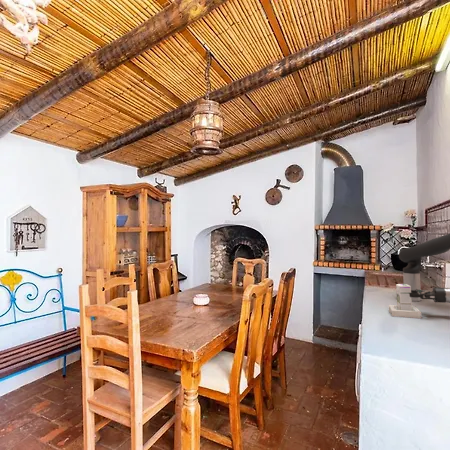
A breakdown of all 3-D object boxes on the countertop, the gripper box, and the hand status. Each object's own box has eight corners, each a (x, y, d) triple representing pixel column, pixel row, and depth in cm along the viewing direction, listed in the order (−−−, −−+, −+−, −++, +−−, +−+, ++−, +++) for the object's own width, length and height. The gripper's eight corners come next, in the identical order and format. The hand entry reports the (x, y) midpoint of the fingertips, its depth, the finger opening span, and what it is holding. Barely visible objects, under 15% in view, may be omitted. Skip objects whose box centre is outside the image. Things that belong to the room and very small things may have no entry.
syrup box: (412, 313, 156) (411, 285, 156) (400, 313, 157) (399, 285, 157) (408, 311, 161) (407, 284, 162) (396, 310, 162) (395, 283, 163)
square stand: (388, 310, 167) (388, 305, 168) (416, 312, 163) (415, 306, 163) (392, 316, 155) (391, 310, 156) (421, 318, 151) (421, 312, 151)
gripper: (440, 285, 159) (405, 284, 165) (448, 290, 146) (410, 288, 152) (441, 299, 159) (405, 298, 165) (449, 305, 146) (411, 303, 152)
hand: (408, 293), depth 159 cm, fingers open, 8 cm apart
